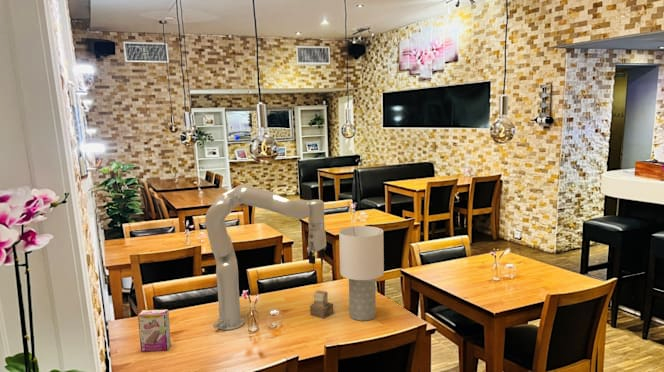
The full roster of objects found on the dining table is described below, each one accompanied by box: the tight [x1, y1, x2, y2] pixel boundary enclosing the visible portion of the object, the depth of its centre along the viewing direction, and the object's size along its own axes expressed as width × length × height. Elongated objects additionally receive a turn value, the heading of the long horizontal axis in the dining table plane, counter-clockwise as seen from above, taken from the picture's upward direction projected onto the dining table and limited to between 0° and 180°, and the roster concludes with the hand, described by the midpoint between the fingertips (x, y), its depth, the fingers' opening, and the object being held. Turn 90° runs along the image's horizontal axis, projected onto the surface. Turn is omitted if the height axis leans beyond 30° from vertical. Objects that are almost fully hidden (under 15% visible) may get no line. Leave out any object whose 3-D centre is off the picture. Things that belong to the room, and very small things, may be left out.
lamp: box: [338, 225, 385, 322], centre depth 212 cm, size 21×21×42 cm
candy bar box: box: [137, 309, 172, 353], centre depth 187 cm, size 11×5×16 cm, turn 92°
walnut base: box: [309, 301, 334, 320], centre depth 218 cm, size 8×8×5 cm
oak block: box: [313, 289, 329, 307], centre depth 217 cm, size 5×5×6 cm
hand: (317, 260), depth 215 cm, fingers open, 9 cm apart
